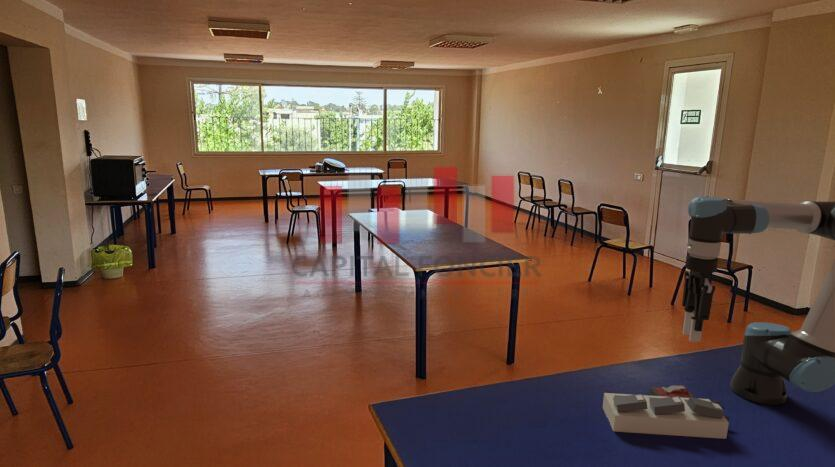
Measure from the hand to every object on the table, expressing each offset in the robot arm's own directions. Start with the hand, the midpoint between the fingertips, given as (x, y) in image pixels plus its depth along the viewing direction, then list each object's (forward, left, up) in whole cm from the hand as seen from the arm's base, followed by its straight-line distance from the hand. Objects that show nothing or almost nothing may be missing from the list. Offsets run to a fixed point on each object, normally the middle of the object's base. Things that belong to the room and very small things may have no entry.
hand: (691, 337), depth 142 cm
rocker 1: (+15, +2, -21) cm, 26 cm away
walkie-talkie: (-6, -13, -27) cm, 31 cm away
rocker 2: (+5, +2, -21) cm, 21 cm away
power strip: (+4, 0, -27) cm, 27 cm away
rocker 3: (-5, +2, -21) cm, 21 cm away
